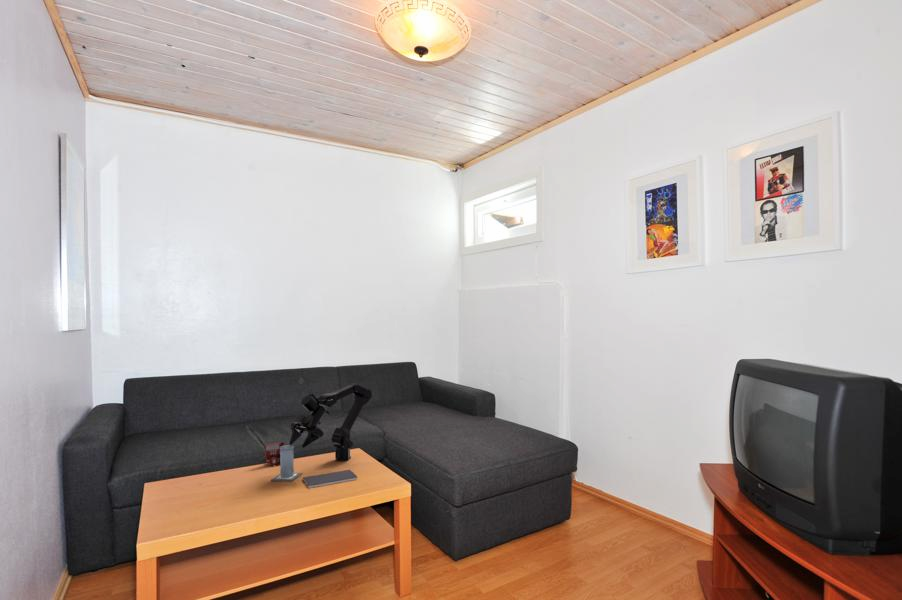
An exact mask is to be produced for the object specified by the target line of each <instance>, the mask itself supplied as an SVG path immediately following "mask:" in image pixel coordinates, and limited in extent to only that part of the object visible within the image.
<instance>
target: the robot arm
mask: <svg viewBox="0 0 902 600" xmlns="http://www.w3.org/2000/svg"><path fill="white" fill-rule="evenodd" d="M352 394H353V395H354V396H353V397H354V398H353V399H354V403H353V404H352V407H351V408H350V410H349V412H348V414H347V416H346V417H345V419H344V421H343V423H342V424H341V426H340V427H336V428H335V429H334V431H333V432H332V434H331V435H332V436H331V442H332V444H333V446H334V447H335V448H336V449H335V451H334V454H335V455H334V456H335V457H334V458H335V459H334V460H338V461H337V462H349V460H351V459H352V456H351V448H353V446H354V442H353V441H352V440H351V439H350V438H351V430H352V428H353V426H354V424H355V423H356V420H357V418H358V417H359V415H360V413H361V411H362V409H363V407H364V406H365V405H366V404H368V403H369V402H370V401H371V399H372V397H373V394H372V390H371V389H367V388H366V387H363V386H361V385H359V384H358V383H350V384H349V385H347V386H345V387H342V388H340V389H338V390H336V391H333V392H329V393H328V392H327V393H323V394H320V395H319V397H316V396H315V395H314V393H310V392H309V394H307V395H306V396H304V397H303V398H302V399H301V401H300V404H301V405H302V407H304V408H305V410H307V411H308V412H310V413H309V414H305V415H302V414H298V413H297V414H296V417H295V419H294V421H293V422H291V424H290V425H289V427H290V430H291V436H290V439H289V441H288V442H289V444H288V445H293V444H294V443H295V442H296V441H297V440H298V439H299V438H300V437H301V436H302V434H304V432H306V433H307V436H306V437H305V440H304V441H303V443H302V445H301V447H302V449H304V448H305V447H307V446H309V445H310V444H312V443H313V442H315V441H317V440H320V439H322V438H323V436H324V431H323V430H322V429H321V428H320V427H319V425H321V420H322V419H323V417H324V415H326V416H328V415H329V414H330V412H329V408H331V407H333V406H335V405H336V404H337V403H338V401H340V400H341V399H344V398H346V397H348V396H349V395H352ZM326 407H328V408H326Z"/></svg>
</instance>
